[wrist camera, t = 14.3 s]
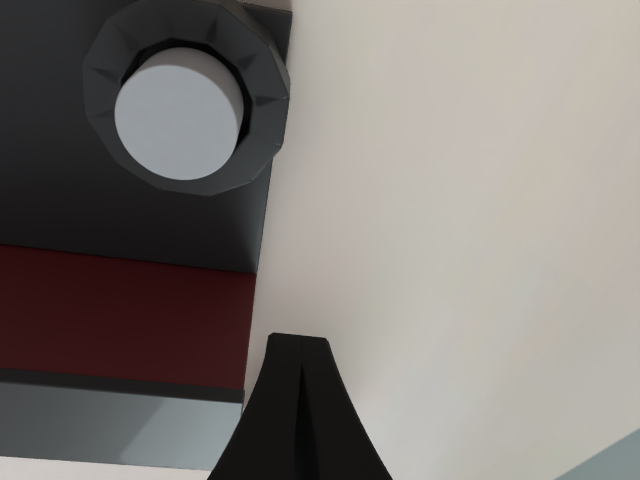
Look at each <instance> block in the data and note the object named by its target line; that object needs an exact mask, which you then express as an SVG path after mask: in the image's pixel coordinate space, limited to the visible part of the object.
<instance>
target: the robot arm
mask: <svg viewBox="0 0 640 480" xmlns="http://www.w3.org/2000/svg"><path fill="white" fill-rule="evenodd" d="M207 480H393V479H392V477H391V476H390V474H389V472H388V471H387V469H386V467H385V466H384V464H383V462H382V461H381V459H380V457H379V455H378V454H377V452H376V450H375V448H374V446H373V444H372V442H371V441H370V439H369V437H368V435H367V433H366V431H365V429H364V427H363V425H362V423H361V421H360V419H359V417H358V415H357V413H356V410H355V408H354V406H353V404H352V402H351V400H350V398H349V395H348V393H347V391H346V388H345V386H344V383H343V381H342V378H341V376H340V373H339V371H338V368H337V366H336V363H335V360H334V357H333V354H332V351H331V348H330V344H329V342H328V341H327V339H326V338H321V337H312V336H302V335H292V334H283V333H272V334H270V335H269V336H268V341H267V347H266V353H265V358H264V361H263V365H262V368H261V371H260V374H259V377H258V379H257V382H256V384H255V387H254V389H253V392H252V394H251V396H250V399H249V401H248V404H247V406H246V408H245V410H244V412H243V414H242V416H241V418H240V420H239V422H238V424H237V426H236V428H235V430H234V432H233V434H232V436H231V438H230V440H229V442H228V444H227V446H226V448H225V450H224V451H223V453H222V455H221V457H220V458H219V460H218V462H217V464H216V465H215V467H214V469H213V470H212V472H211V474H210V475H209V477H208V479H207Z"/></svg>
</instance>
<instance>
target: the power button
mask: <svg viewBox="0 0 640 480" xmlns="http://www.w3.org/2000/svg"><path fill="white" fill-rule="evenodd" d="M243 111H244V105H243V97H242V93H241V90H240V87H239V85H238V83H237V81H236V79H235V78H234V76H233V75H232V73H231V72H230V71H229V70H228V69H227V67H226V66H225V65H223V64H222V63H221V62H220V61H219V60H217V59H216V58H214V57H213V56H211V55H209V54H207V53H205V52H203V51H200V50H196V49H192V48H185V47H177V48H170V49H166V50H163V51H160V52H158V53H156V54H154V55H153V56H151V57H150V58H149V59H148V60H147V61H146V62H145V63H144V64H143V65H142V66H141V67H140V68H139V69H138V70H137V71H136V72H135V73H134V74H133V75H132V76H131V77H130V78H129V79H128V80H127V81H126V82H125V84H124V85H123V86H122V88H121V90H120V92H119V94H118V97H117V100H116V104H115V124H116V128H117V132H118V134H119V137H120V139H121V141H122V143H123V145H124V146H125V148H126V149H127V151H128V152H129V153H130V154H131V156H132V157H133V158H134V159H135V160H136V161H137V162H139V163H140V164H141V165H142V166H144V167H145V168H147V169H148V170H150V171H152V172H154V173H156V174H158V175H161V176H164V177H167V178H171V179H178V180H191V179H198V178H201V177H205V176H207V175H209V174H212V173H213V172H215V171H217V170H218V169H219V168H220V167H222V166H223V165H224V164H225V163H226V162H227V160H228V159H229V157H230V156H231V154H232V152H233V150H234V148H235V145H236V142H237V138H238V134H239V130H240V126H241V123H242V118H243Z"/></svg>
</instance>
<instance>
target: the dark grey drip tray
mask: <svg viewBox="0 0 640 480" xmlns="http://www.w3.org/2000/svg"><path fill="white" fill-rule="evenodd" d="M292 15H293V14H292V12H290V11H285V10H279V9H274V8H268V7H263V6H258V5H252V4H247V3H241V2H236V1H235V0H0V244H8V245H17V246H25V247H34V248H42V249H50V250H59V251H67V252H76V253H84V254H92V255H101V256H109V257H117V258H126V259H134V260H143V261H151V262H159V263H168V264H176V265H185V266H193V267H201V268H210V269H218V270H227V271H235V272H243V273H252V274H257V270H258V262H259V255H260V248H261V241H262V233H263V226H264V219H265V212H266V204H267V197H268V190H269V183H270V175H271V168H272V161H273V157H274V156H275V155H276V154H277V152H278V151H279V150H280V149H281V147H282V145H283V141H284V134H285V128H286V121H287V114H288V107H289V100H290V77H289V74H288V72H287V69H286V67H285V66H286V59H287V52H288V45H289V37H290V30H291V23H292ZM177 47H185V48H192V49H196V50H200V51H203V52H205V53H207V54H209V55H211V56H213V57H214V58H216V59H217V60H219V61H220V62H221V63H222V64H223V65H225V66H226V67H227V69H228V70H229V71H230V72H231V73H232V75H233V76H234V78H235V79H236V81H237V83H238V85H239V87H240V90H241V93H242V97H243V105H244V111H243V118H242V123H241V126H240V130H239V134H238V138H237V142H236V145H235V148H234V150H233V152H232V154H231V156H230V157H229V159H228V160H227V162H226V163H225V164H224V165H223V166H222V167H220V168H219V169H218V170H217V171H215V172H213V173H212V174H209V175H207V176H205V177H201V178H198V179H191V180H178V179H171V178H167V177H164V176H161V175H158V174H156V173H154V172H152V171H150V170H148V169H147V168H145V167H144V166H142V165H141V164H140V163H139V162H137V161H136V160H135V159H134V158H133V157H132V156H131V154H130V153H129V152H128V151H127V149H126V148H125V146H124V145H123V143H122V141H121V139H120V137H119V134H118V132H117V128H116V124H115V104H116V100H117V97H118V94H119V92H120V90H121V88H122V86H123V85H124V84H125V82H126V81H127V80H128V79H129V78H130V77H131V76H132V75H133V74H134V73H135V72H136V71H137V70H138V69H139V68H140V67H141V66H142V65H143V64H144V63H145V62H146V61H147V60H148V59H149V58H150V57H151V56H153V55H154V54H156V53H158V52H160V51H163V50H166V49H170V48H177Z"/></svg>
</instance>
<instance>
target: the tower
mask: <svg viewBox="0 0 640 480" xmlns="http://www.w3.org/2000/svg"><path fill="white" fill-rule="evenodd" d="M256 277H257V274H252V273H243V272H235V271H227V270H218V269H210V268H201V267H193V266H185V265H176V264H168V263H159V262H151V261H143V260H134V259H126V258H117V257H109V256H101V255H92V254H84V253H76V252H67V251H59V250H50V249H42V248H34V247H25V246H17V245H8V244H0V456H5V457H19V458H34V459H48V460H62V461H77V462H91V463H106V464H120V465H135V466H149V467H163V468H178V469H192V470H207V471H212V470H213V469H214V467H215V465H216V464H217V462H218V460H219V458H220V457H221V455H222V453H223V451H224V450H225V448H226V446H227V444H228V442H229V440H230V438H231V436H232V434H233V432H234V430H235V428H236V426H237V424H238V422H239V420H240V418H241V416H242V411H243V405H244V396H245V391H244V383H245V374H246V365H247V356H248V347H249V338H250V330H251V321H252V312H253V303H254V294H255V285H256Z"/></svg>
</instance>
